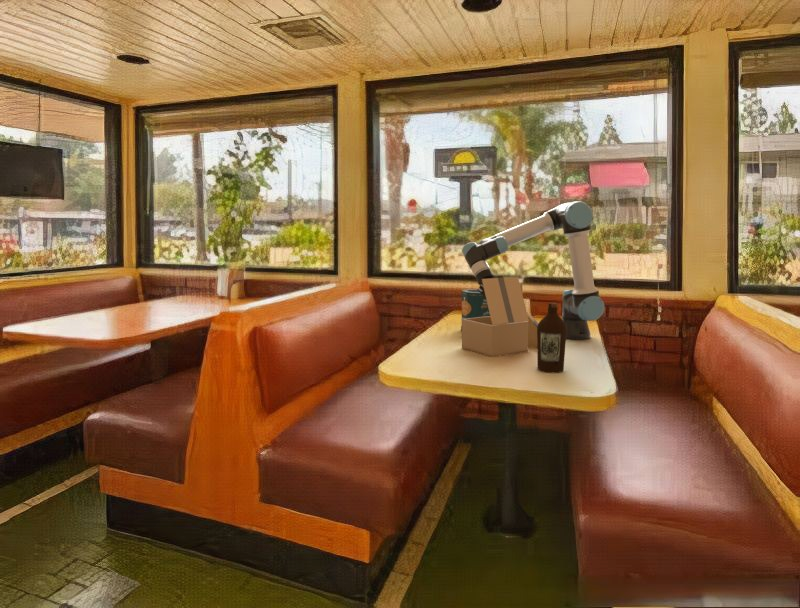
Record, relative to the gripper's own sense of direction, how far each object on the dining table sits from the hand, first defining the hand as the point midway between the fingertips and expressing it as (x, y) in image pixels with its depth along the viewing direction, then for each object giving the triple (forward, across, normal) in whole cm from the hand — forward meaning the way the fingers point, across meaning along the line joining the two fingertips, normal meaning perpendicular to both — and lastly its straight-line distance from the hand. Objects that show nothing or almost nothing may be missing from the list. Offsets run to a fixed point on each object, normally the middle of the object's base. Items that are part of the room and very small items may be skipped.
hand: (506, 318), depth 232 cm
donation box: (-18, -22, -45) cm, 53 cm away
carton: (+6, 0, -16) cm, 17 cm away
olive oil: (+31, +5, +12) cm, 34 cm away
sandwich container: (+10, -24, -13) cm, 29 cm away
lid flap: (-7, 0, +4) cm, 8 cm away
